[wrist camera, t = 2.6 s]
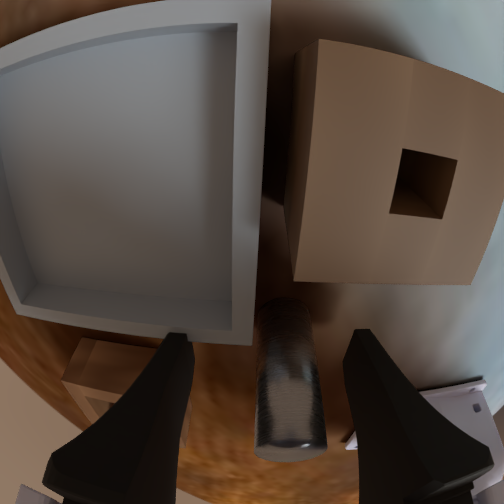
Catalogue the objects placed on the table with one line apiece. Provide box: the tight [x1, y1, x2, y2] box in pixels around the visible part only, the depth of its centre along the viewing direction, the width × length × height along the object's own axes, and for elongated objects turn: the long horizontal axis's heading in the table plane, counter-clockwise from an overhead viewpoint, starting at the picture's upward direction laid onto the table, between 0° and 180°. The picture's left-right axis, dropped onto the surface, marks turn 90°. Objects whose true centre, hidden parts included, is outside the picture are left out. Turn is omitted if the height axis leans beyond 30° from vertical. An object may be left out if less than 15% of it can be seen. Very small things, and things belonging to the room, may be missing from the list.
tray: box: [0, 0, 271, 346], centre depth 9 cm, size 10×10×2 cm
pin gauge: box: [254, 298, 327, 462], centre depth 10 cm, size 2×2×6 cm
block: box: [284, 39, 504, 285], centre depth 7 cm, size 5×5×4 cm
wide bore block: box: [61, 337, 192, 448], centre depth 15 cm, size 6×6×3 cm
